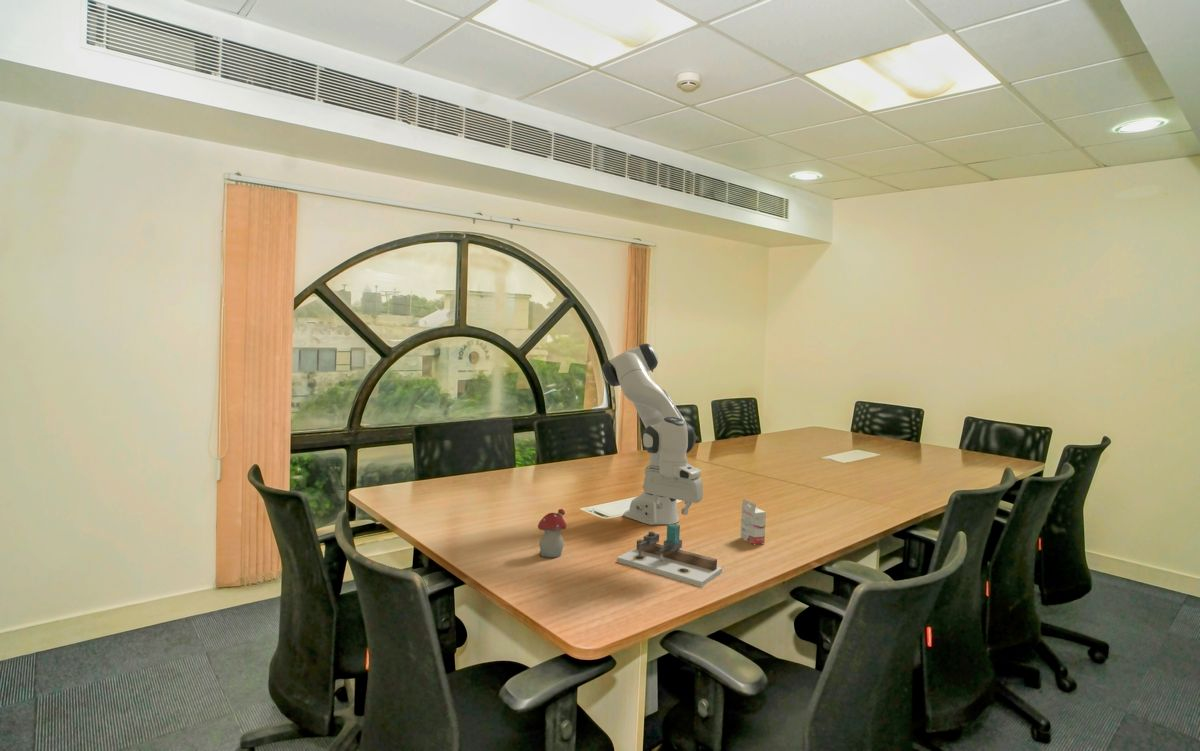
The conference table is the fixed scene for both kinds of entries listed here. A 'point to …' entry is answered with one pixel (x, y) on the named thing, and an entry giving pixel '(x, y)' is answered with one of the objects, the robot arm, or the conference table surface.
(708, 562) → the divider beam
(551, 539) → the decorative ornament
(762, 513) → the ink cartridge box
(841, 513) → the conference table surface
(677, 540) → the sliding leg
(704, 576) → the bolt plate
